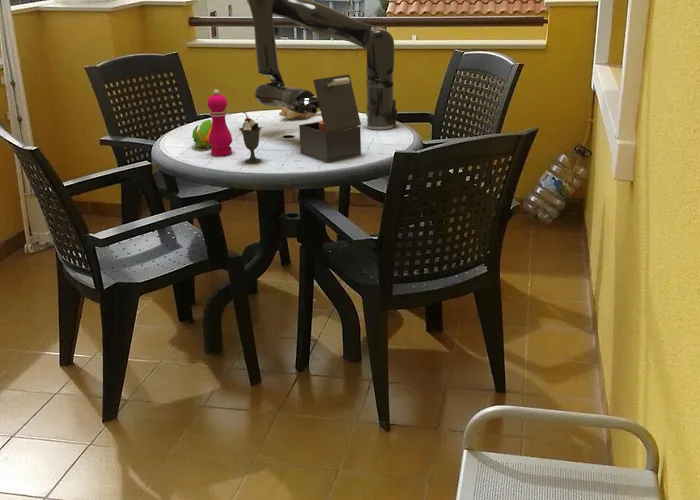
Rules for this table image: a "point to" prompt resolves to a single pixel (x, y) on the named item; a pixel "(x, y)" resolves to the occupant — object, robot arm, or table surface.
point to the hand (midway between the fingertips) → (327, 107)
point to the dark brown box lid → (337, 102)
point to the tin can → (322, 127)
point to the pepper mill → (219, 126)
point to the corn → (202, 134)
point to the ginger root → (294, 114)
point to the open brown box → (329, 142)
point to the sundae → (251, 137)
